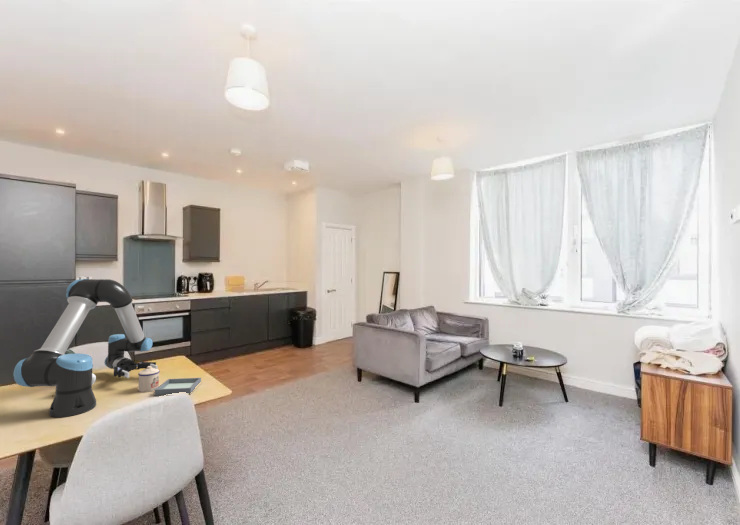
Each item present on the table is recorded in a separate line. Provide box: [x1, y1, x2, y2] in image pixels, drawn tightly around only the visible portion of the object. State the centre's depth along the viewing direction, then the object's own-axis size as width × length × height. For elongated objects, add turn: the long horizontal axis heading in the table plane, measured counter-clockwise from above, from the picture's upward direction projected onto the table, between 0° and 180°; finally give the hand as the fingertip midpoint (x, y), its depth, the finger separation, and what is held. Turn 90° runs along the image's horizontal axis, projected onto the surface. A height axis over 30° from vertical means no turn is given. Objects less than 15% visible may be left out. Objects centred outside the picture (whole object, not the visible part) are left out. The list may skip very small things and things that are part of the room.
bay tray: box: [154, 377, 202, 397], centre depth 167 cm, size 16×16×3 cm
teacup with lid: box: [137, 366, 160, 393], centre depth 168 cm, size 12×9×12 cm
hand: (143, 371), depth 172 cm, fingers open, 13 cm apart
